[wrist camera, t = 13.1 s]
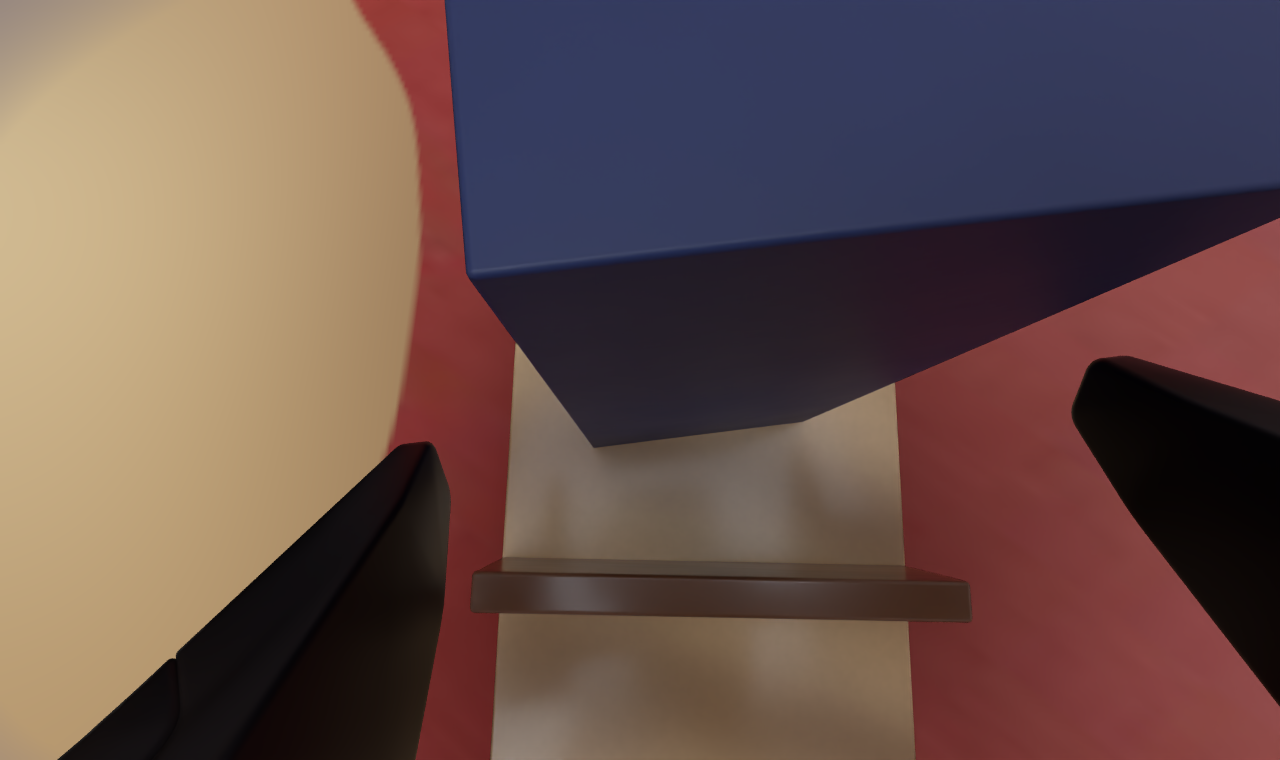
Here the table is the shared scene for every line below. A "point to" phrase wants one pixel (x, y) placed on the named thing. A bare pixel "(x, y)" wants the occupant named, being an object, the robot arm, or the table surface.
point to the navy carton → (835, 183)
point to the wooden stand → (706, 591)
